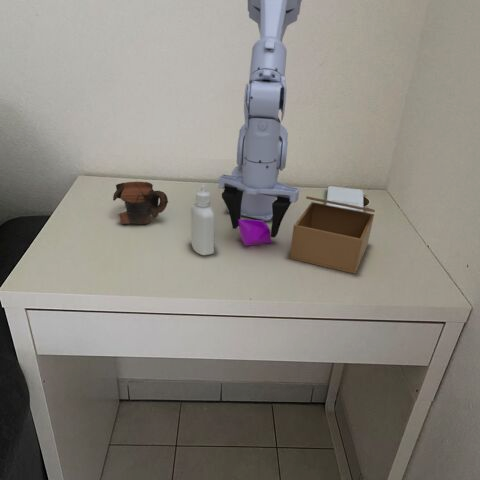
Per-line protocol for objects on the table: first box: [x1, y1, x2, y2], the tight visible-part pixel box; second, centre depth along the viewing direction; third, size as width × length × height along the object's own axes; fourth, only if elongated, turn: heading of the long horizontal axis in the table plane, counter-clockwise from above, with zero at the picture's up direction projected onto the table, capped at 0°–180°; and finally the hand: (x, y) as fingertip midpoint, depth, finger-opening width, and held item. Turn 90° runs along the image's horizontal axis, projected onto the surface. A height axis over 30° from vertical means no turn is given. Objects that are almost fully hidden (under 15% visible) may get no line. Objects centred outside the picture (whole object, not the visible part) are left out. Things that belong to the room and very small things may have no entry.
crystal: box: [238, 218, 272, 246], centre depth 93 cm, size 5×5×5 cm
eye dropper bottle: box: [190, 184, 216, 256], centre depth 87 cm, size 4×6×12 cm
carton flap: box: [305, 195, 376, 213], centre depth 90 cm, size 6×12×1 cm, turn 68°
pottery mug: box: [112, 181, 169, 225], centre depth 99 cm, size 12×10×8 cm
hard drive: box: [325, 185, 365, 212], centre depth 112 cm, size 2×8×12 cm
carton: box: [289, 201, 375, 275], centre depth 90 cm, size 12×12×6 cm
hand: (254, 230), depth 92 cm, fingers open, 7 cm apart
